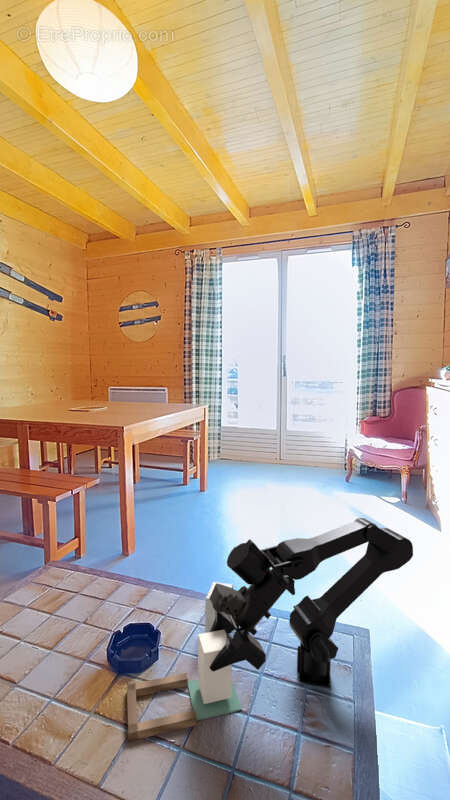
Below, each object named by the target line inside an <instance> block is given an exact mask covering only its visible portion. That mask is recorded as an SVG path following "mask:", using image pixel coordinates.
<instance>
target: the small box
mask: <svg viewBox="0 0 450 800" xmlns="http://www.w3.org/2000/svg"><path fill="white" fill-rule="evenodd" d="M216 583H218V584H221V585H224V586H227V587H230V588H233V589H234V585H233V584H231V583H226V582H225V583H224V582H217V581H213V582H212V583H211V586H210V588H209V591H208V592H207V595H206V596H205V611H204V612H205V614H204V615H205V616H204V617H205V619H204V627H205V628H204V633H208V632H210V630H211V627H212V625H213V623H214V620H215V610H214V608H213V606H212V605H213V604H212V602H211V601H210V599H209V598H210V596H211V594H212V591H213V589H214V587H215V585H216ZM228 635H229V636H230V634H228Z"/></svg>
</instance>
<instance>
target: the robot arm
mask: <svg viewBox="0 0 450 800" xmlns="http://www.w3.org/2000/svg"><path fill="white" fill-rule="evenodd" d="M366 543H367V546H366V551H365V554H364V555H363V556H362V557H361V558H360V559H359V560H358V561H357V562H355V564H354V565H352V566H351V567H350V568H349V569H348V570H347V571H346V572H345V573H344V574H343V575H341V577H340V578H339V579H338V580H337V581H336V582H334V584H333V585H331V586H330V587H329V589H327V590H326V591H325V592H324V593H323V594H322V595H321V596H320V597H318V598H313V599H311V597H310V596H309V595H306V596H303V598H302V599H301V600H300V601H299V602H298V603H297V604H296V605H293V610H292V611H291V612H290V614H289V621H288V623H289V627H290V629H291V630H292V632H293V633H294V635H295V636H296V637H297V639H298V641H300V643H299V644H300V645H298V646H297V652H296V656H297V657H296V672H297V673H298V675H299V676H298V679H299V680H298V681H299V682H300V683H301V684H308V685H313V686H320V687H323V688H324V687H325V688H331V687H332V680H331V679H332V678H331V664H332V663H331V661H332V659H335V658H336V657H337V653H338V651H339V647H338V646H337V644H336V643H335V642H334V641H333V640H332V639H331V637H332V636H333V633H334V630H335V627H336V622H337V620H338V618H339V617H340V616H341V614H343V613H344V612H345V611H346V610H347V609H348V608H349V607H350V606H351V605H352V604H353V603H354V602H355V601H356V600H357V599H358V598H359V597H361V595H362V594H363V593H364V592H365V591H366V590H367V589H368V588H369V587H371V586H372V585H373V583H374V582H376V580H378V578H379V577H381V576H382V575H383V574H384V573H387V572H392V571H395V570H399V569H400V568H401V567H403V566H404V565H406V564H407V563H408V562H410V561H411V560H412V558H413V556H414V547H413V546H414V545H413V543H412V541H411V540H410V539H408V538H407V537H405V536H403V535H401V534H400V533H398V532H396V531H394V530H392V529H390V528H387V527H378V526H377V525H376V524H375V523H373V522H372V521H370V520H368V519H366V518H363V517H358V518H356V519H355V520H354V521H352V522H349V523H346V524H345V525H342V526H339V527H336V528H333V529H331V530H329V531H327V532H324V533H321V534H319V535H315V536H314V537H310V538H302V537H301V538H298V537H296V538H292V539H287V540H282V541H281V542H280V543H277V545H273V546H269V547H266V548H262V549H260V548H259V547H258V546H257V544H256V543H255V542H254V541H253V540H252V539H251V538H250V539H247V541H246V542H243V543H239V544H238V545H237V546H235V547H233V549H231V551H230V552H229V554H228V556H227V560H226V565H227V567H228V568H229V569H230V570H231V571H232V572H233V573H234V574H236V575H237V576H238V577H239V578H240V579H241V580H243V581H244V583H245V584H247V585H249V586H248V587H247V586H246V585H243V586H241V587H240V588H239V589H238V590H237V589H235V588H234V587H233V588H230V587H227V586H224V585H221V584H218V583H219V582H218V583H216V585H215V587H214V589H213V591H212V594H211V596H210V598H209V599H210V601H211V602H212V604H213V605H212V606H213V608H214V610H215V620H214V623H213V625H212V627H211V630H210V632H214V631H219V630H225V632H226V644H225V645H224V647H223V648H222V650H221V651H220V652H219V654H218V655H217V656H216V658H215V659H214V661H213V662H212V664H211V666H210V670H212V671H216V670H219V669H221V668H224V667H226V666H229V665H231V664H232V665H233V664H237V663H240V662H245V661H247V662H248V663H249V664H250V665H251V666H252V667H253V668H255V669H256V670H257V671H259V670H260V669H261V668H262V667H263V665H264V664H265V663H266V661H267V660H266V658H267V653H266V652H265V650H264V648H263V647H262V645H261V643H260V641H259V640H258V639H256V638H255V637H254V636H255V635H256V634H257V633H258V631H257V628H256V626H257V625H258V624H259V623H260V621H262V619H263V618H264V617H265V618H266V619H267V620H269V619H270V617H271V616H272V614H271V613H270V609H271V608H272V607H273V606H274V605H275V604H276V603H277V601H278V600H279V598H281V596H282V595H283V594H284V593H285V591H287V592H288V593H290V594H291V595H292V596H295V595H296V588H295V581H298V580H302V579H304V578H306V577H307V576H309V575H310V574H312V573H314V572H315V571H316V570H317V568H318V567H319V565H320V564H321V563H322V562H324V561H325V560H328V559H330V558H332V557H335V556H338V555H340V554H342V553H346V552H348V551H349V550H352V549H354V548H357V547H359V546H362V545H364V544H366ZM234 631H235V632H234ZM233 632H234V633H233ZM231 633H233V636H231V635H230V634H231ZM228 634H229V635H228Z"/></svg>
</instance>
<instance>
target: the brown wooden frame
mask: <svg viewBox="0 0 450 800" xmlns="http://www.w3.org/2000/svg"><path fill="white" fill-rule="evenodd" d="M188 680H189V679H188V673H187V672H185V673H180V674H176V675H170V676H165V677H159V678H154V679H150V680H145V681H140V682H135V683H129V684H127V685H126V693H127V694H126V697H127V698H126V699H127V702H126V703H127V732H128V733H127V737H128V738H127V740H128V742H132V741H137V740H141V739H146V738H149V737H152V736H158V735H162V734H165V733H169V732H174V731H178V730H183V729H187V728H190V727H191V728H192V727H195V726H197V721H196V713H195V710H193V709H192V710H189V711H183V712H179V713H175V714H172V715H167V716H166V715H165V716H163V717H158V718H152V719H149V720H148V719H147V720H145V721H141V722H138V708H137V707H138V705H137V704H138V703H137V697H141V696H145V695H151V694H155V693H161V692H164V691H166V692H167V691H171V690H175V689H179V688H180V689H181V688H184V687H185V688H186V687H188Z"/></svg>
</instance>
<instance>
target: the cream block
mask: <svg viewBox="0 0 450 800" xmlns="http://www.w3.org/2000/svg"><path fill="white" fill-rule="evenodd" d="M197 639H198V640H197V643H198V644H197V645H198V647H197V653H198V654H197V680H198V684H199V688H200V691H201V695H202V699H203V703H204V704H207V703H211V702H215V701H220V700H224V699H228V698H231V695H232V683H233V669H232V667H233V664H231V665H229V666H226V667H224V668H221V669H219V670H216V671H212V670H210V666H211V664H212V662H213V661H214V659H215V658H216V656H217V655H218V654H219V652H220V651H221V650H222V648H223V647H224V645H225V644H226V632H225V630H219V631H214V632H208V633H205V632H203V633H198V637H197Z"/></svg>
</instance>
